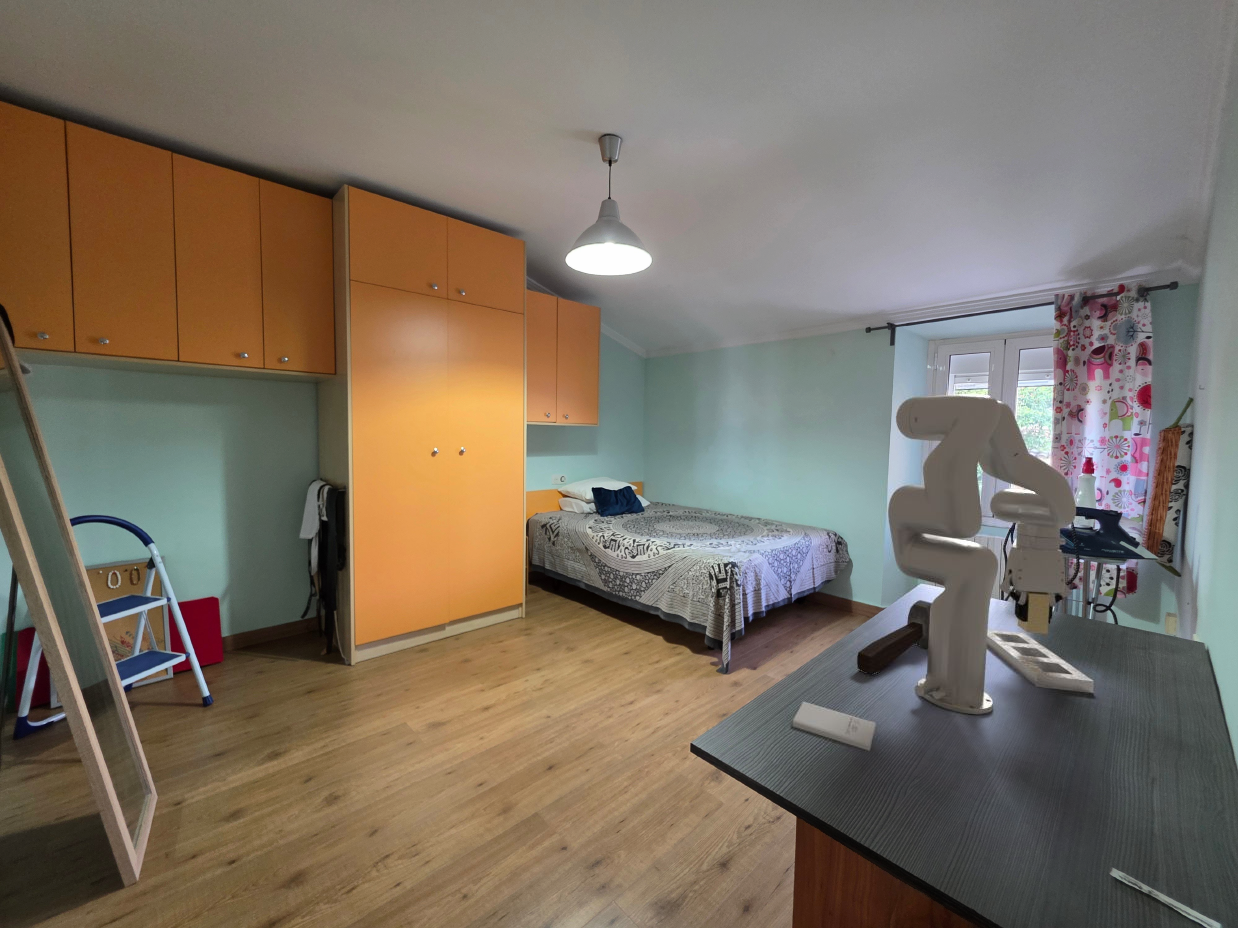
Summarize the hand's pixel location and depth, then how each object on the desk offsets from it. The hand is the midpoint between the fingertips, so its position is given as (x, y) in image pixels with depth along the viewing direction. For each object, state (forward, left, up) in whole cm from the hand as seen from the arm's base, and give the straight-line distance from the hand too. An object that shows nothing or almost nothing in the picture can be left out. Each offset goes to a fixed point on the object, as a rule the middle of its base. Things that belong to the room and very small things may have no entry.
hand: (1032, 619), depth 117 cm
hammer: (-26, +15, -10) cm, 32 cm away
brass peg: (0, 0, -2) cm, 2 cm away
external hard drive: (-64, +1, -11) cm, 64 cm away
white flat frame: (0, 0, -10) cm, 10 cm away
